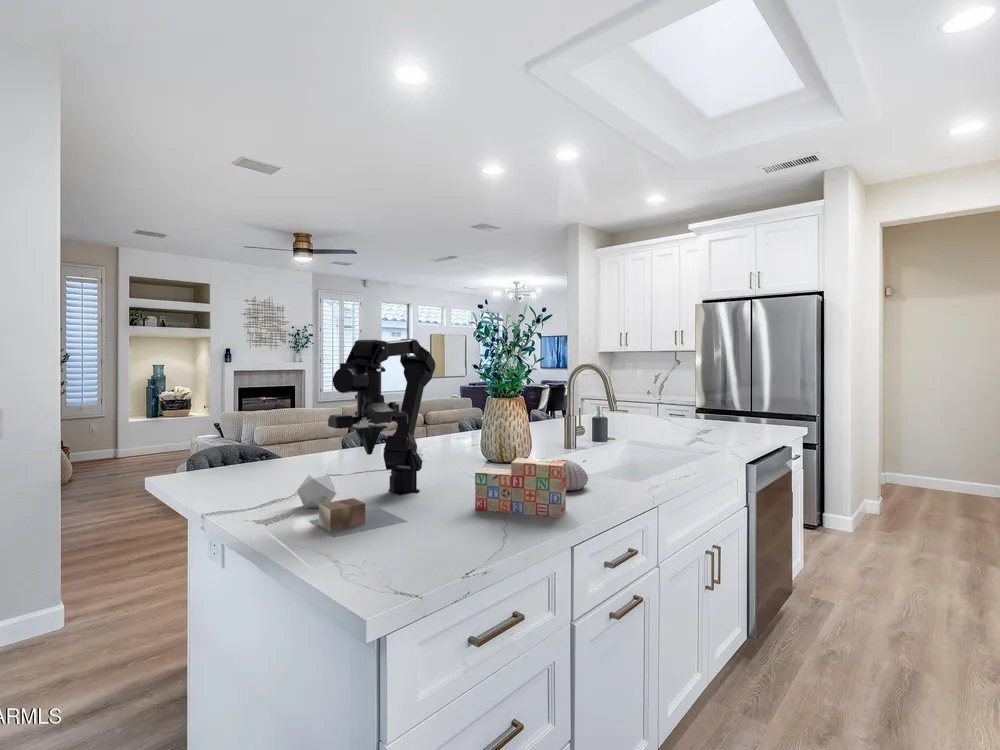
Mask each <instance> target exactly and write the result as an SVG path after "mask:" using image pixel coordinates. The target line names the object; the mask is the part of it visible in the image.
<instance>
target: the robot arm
mask: <svg viewBox="0 0 1000 750" xmlns="http://www.w3.org/2000/svg"><path fill="white" fill-rule="evenodd" d="M408 354H413V355H408ZM393 356H400V358H399V362H400V364H401V366H402V367H403V375H404V379H405V381H406V385H405V391H404V395H403V398H402V403H401V407H400V403H399V402H397V401H390V402H389V403H386V402H385V396H384V395H383V394H382V373H385V372H386V367H384V366H383V365H382V364H381V363H384V362H385V361H387V360H388V359H389V358H390V357H393ZM435 370H436V362H435V359H434V357H433V356H432V354H431V353H430V351H428V350H427V349H425V348H424V347H423V346H421V345H420V343H419V341H418V340H417V339H415V338H401V339H399V340H389V341H387V340H383V339H357V340H355V341H354V345H352V348H351V349H350V352H349V355H348V356H347V358H346V359H345V362H344V363H343V362H342V363H339V369H337V370H336V371H335V372H334V375H333V377H332V384H333V387H334V389H335V390H336V391H337V392H339V393H340V394H347V393H356V394H354V399H355V400H356V411H354V415H355V416H352V415H351V414H350V415H349V414H347V413H346V414H345V413H341V414H340V413H339V414H330V416H328V419H327V427H329V428H333V429H341V430H342V429H350V428H351V429H353V430H354V431H355V432H356V434H357V435H358V437H359V439H360V441H361V443H362V446H363V448H364V451H365V453H366V455H370V456H371V455H372V454H373V452H374V449H375V446H376V443H377V440H378V438H379V436H380V434H381V432H382V431H384V429H387V428H388V425H386V423H387V424H390V423H392V422H395V423H396V430H395V432H393V434H392V435H387V436H386V439H385V445H384V448H383V453H382V454H383V455H382V457H383V460H384V464H385V469H386V470H387V471H388V470H389V471H390V475H389V488H388V489H387V490H388V491H387V492H390V493H393V494H395V495H397V496H402V495H403V496H404V495H409V494H415V493H420V491H421V490H420V489H418V488H417V484H418V482H417V481H418V479H417V478H418V475H417V472H420V471H421V470H422V469H423V468H422V467H423V460H422V458H421V457H420V454H419V453H418V450H417V449H418V444H417V441H416V439H415V436H414V435H415V431H416V427H417V425H416V424H417V421H418V416H419V411H420V407H421V403H422V398H423V393H424V389H425V387H426V386H427V385H428V384H429V382H431V380H432V379H433V375H434V372H435Z"/></svg>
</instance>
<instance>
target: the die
mask: <svg viewBox="0 0 1000 750" xmlns="http://www.w3.org/2000/svg"><path fill="white" fill-rule="evenodd" d="M296 492H297V494H298V496H299V498H300V501H301V503H302V505H303V508H304V509H319V504H322V503H328V502H333V500H334V498H335V496H336V495H337V493H338V492H337V490H336V488H335V485H334V483H333V481H332V478H331V475H330V474H308V475H307V477H306V478H305V479H304V480H303V482H302V483H301V484H300V485H299V487H298V488H297V490H296Z"/></svg>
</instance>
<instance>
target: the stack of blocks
mask: <svg viewBox="0 0 1000 750" xmlns="http://www.w3.org/2000/svg"><path fill="white" fill-rule="evenodd" d="M510 466H511V468H510V469H506V468H491V467H482V468H480V469H478V470H477V471H475V472H474V485H475V487H474V488H475V492H474V499H475V500H474V502H475V504H474V510H476V509H478V511H480V510H481V511H487V512H496V511H499V512H500V513H506V512H512V513H511V514H517V513H522V514H521V515H529V514H533V515H532V516H538V515H543V516H542V517H549V516H554V517H553V518H560V517H561V518H562V517H563V516H562V515H564V514H563V513H566V511H567V510H566V507H567V505H566V503H567V502H566V497H567V496H566V495H567V491H566V461H557V460H554V459H547V458H545V459H544V458H540V459H539V458H537V459H536V458H523V457H516V459H514V460H513V461H511V463H510Z"/></svg>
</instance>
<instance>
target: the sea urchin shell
mask: <svg viewBox="0 0 1000 750" xmlns="http://www.w3.org/2000/svg"><path fill="white" fill-rule="evenodd" d="M556 461H566V492H567V491H574V490H575V491H577V490H580V489H582V488H585V486H586V485H587V484H588V481H589V476H588V474H587V472H586V471H585V469H584V468H583V467H582V466H581V465H580V464H578V463H577V462H574V461H573V460H572V461H571V460H568V459H557V460H556Z"/></svg>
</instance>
